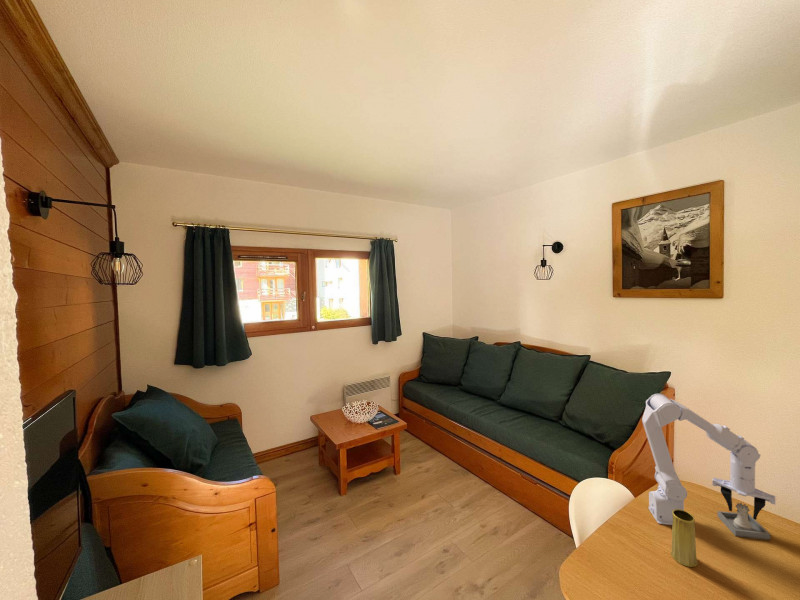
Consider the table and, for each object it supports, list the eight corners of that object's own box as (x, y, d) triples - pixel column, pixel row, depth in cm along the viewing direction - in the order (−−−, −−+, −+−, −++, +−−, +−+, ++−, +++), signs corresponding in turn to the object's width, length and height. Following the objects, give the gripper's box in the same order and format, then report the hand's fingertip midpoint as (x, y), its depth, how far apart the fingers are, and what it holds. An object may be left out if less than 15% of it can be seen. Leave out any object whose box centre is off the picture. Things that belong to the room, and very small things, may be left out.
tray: (735, 536, 108) (735, 530, 108) (717, 516, 116) (717, 510, 116) (770, 540, 105) (770, 534, 105) (749, 519, 114) (749, 514, 114)
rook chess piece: (756, 531, 108) (756, 508, 108) (744, 534, 108) (744, 511, 107) (740, 521, 113) (740, 499, 112) (729, 524, 112) (729, 502, 112)
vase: (691, 552, 103) (690, 509, 102) (701, 569, 97) (701, 524, 96) (667, 548, 105) (666, 506, 104) (676, 565, 99) (675, 520, 98)
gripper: (711, 471, 112) (711, 509, 113) (775, 490, 101) (775, 531, 102) (713, 463, 117) (713, 499, 118) (775, 479, 106) (775, 519, 107)
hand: (742, 513), depth 110 cm, fingers open, 5 cm apart
